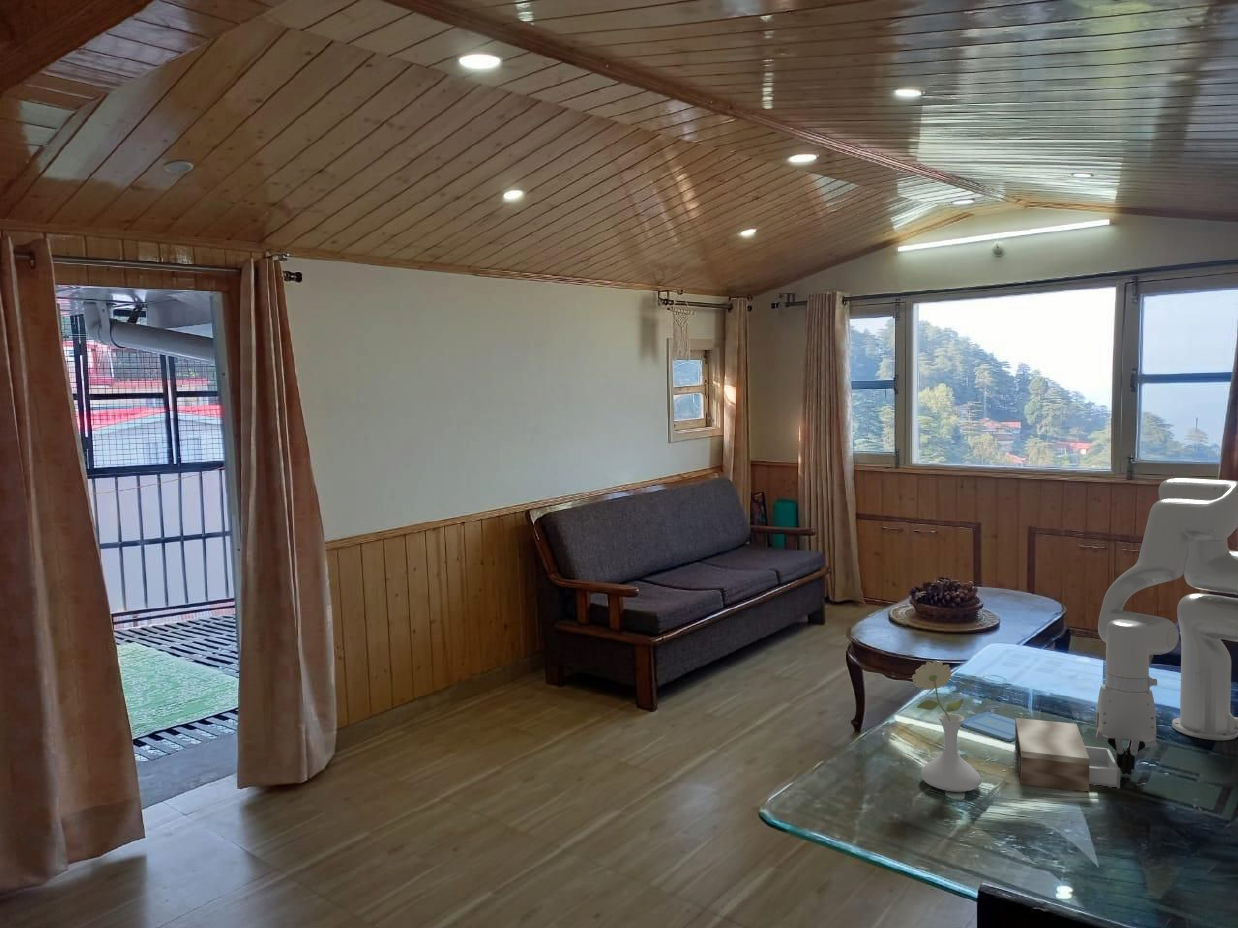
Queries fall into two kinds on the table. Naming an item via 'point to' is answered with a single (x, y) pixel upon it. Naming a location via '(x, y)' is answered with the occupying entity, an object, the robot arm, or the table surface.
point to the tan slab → (1051, 754)
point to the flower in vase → (949, 765)
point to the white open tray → (1102, 767)
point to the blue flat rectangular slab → (992, 725)
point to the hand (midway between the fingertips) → (1125, 771)
